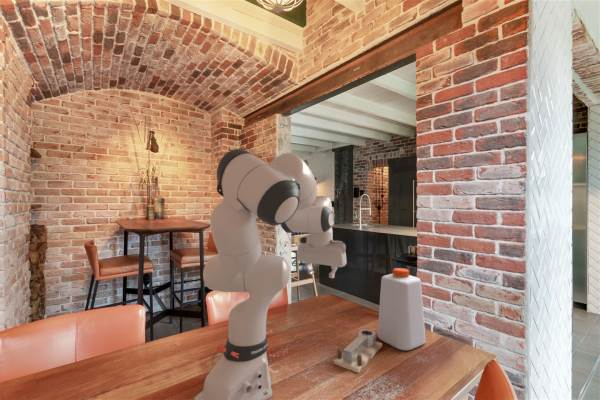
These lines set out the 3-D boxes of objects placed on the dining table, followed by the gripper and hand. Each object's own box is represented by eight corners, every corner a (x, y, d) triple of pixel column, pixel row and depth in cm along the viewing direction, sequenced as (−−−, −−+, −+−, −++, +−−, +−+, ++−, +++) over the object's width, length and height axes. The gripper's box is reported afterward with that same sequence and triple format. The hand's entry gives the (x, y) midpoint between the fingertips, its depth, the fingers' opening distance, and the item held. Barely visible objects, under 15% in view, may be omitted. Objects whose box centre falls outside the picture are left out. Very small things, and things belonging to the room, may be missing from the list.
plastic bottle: (398, 328, 124) (397, 263, 125) (430, 343, 112) (429, 270, 112) (373, 337, 116) (372, 268, 116) (404, 354, 104) (404, 276, 104)
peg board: (358, 373, 92) (358, 359, 92) (333, 363, 98) (333, 351, 98) (381, 346, 109) (381, 335, 109) (359, 339, 115) (359, 329, 115)
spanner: (355, 366, 94) (355, 354, 94) (339, 360, 98) (338, 348, 98) (378, 342, 110) (377, 332, 110) (362, 338, 113) (362, 327, 113)
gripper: (349, 240, 106) (349, 278, 106) (304, 236, 118) (304, 270, 118) (341, 242, 101) (341, 282, 101) (295, 238, 113) (294, 273, 113)
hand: (321, 275), depth 109 cm, fingers open, 8 cm apart
